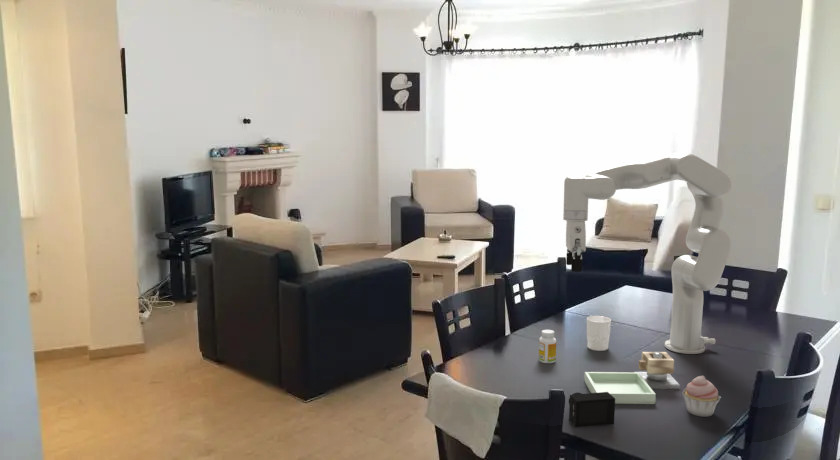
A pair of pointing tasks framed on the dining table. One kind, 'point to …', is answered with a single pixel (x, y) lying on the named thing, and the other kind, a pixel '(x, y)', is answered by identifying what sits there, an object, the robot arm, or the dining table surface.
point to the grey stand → (659, 378)
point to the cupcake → (701, 397)
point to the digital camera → (591, 409)
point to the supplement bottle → (547, 347)
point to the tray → (621, 386)
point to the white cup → (598, 332)
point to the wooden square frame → (656, 363)
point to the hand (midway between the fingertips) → (573, 268)
